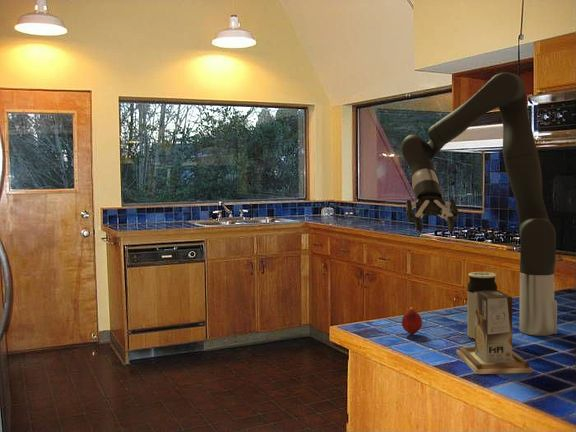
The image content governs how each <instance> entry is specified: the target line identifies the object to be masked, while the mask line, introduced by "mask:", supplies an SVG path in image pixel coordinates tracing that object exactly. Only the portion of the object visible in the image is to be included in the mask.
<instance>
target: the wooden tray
mask: <svg viewBox="0 0 576 432" xmlns="http://www.w3.org/2000/svg"><path fill="white" fill-rule="evenodd" d="M456 355H457V356H458V357H459V358H460V359H461V360H462V361H463V362H464V363H465V364H466V365H467V366H468V367H469V368H470V369H471V371H473V372H474V374H475V375H487V374H488V375H489V374H490V375H491V374H493V375H495V374H496V375H497V374H527V373H528V374H531V373H533V368H532V367H531V366H530V363H529V362H528V361H527V360H525V359H524V358H523V357H521V356H520V354H517V353H516V352H515V351H513V350H512V363H486V362H484V361H483V360H482V359H481V358H479V357H478V356H477V355H476V354H475V345H472V346H470V345H467V346H466V345H465V346H459V347H458V349H456Z"/></svg>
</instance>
